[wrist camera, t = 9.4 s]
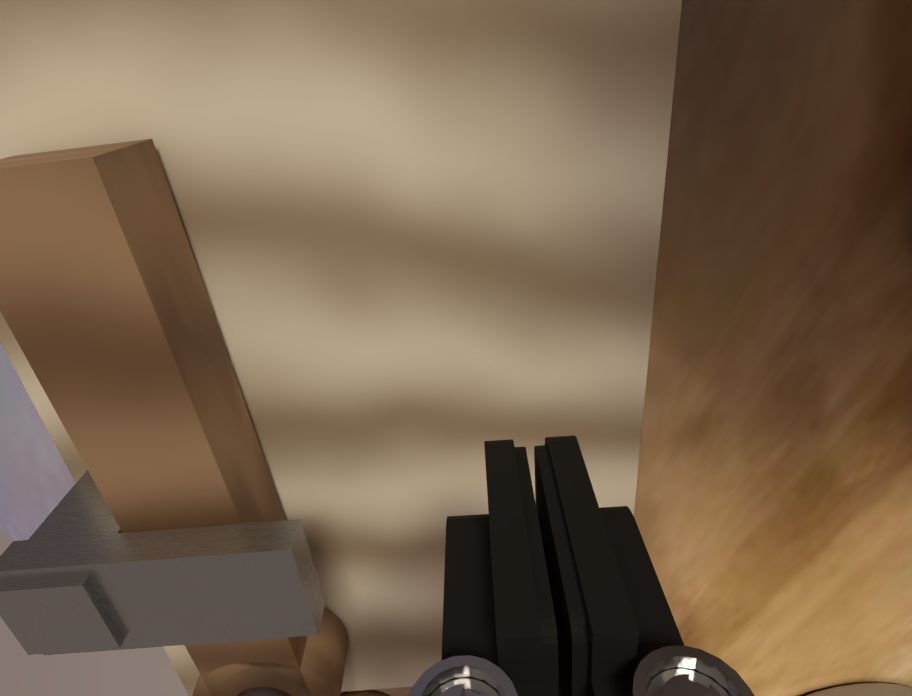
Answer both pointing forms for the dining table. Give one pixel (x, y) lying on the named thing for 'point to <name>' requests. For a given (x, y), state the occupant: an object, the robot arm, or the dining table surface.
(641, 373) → the birch board
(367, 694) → the place setting
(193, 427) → the walnut link
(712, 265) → the dining table surface
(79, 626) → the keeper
